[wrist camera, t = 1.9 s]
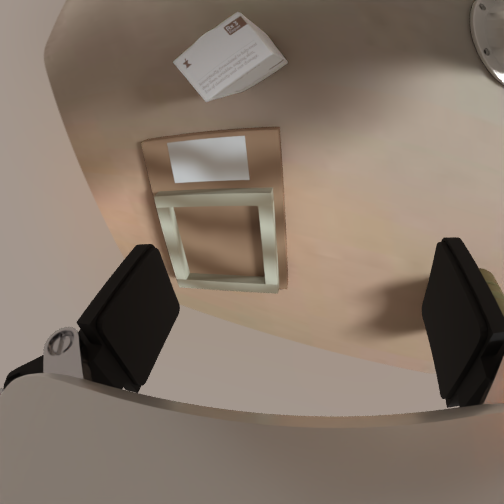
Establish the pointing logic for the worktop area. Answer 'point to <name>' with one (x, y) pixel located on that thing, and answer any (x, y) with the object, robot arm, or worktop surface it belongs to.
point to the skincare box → (229, 59)
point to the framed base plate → (222, 207)
